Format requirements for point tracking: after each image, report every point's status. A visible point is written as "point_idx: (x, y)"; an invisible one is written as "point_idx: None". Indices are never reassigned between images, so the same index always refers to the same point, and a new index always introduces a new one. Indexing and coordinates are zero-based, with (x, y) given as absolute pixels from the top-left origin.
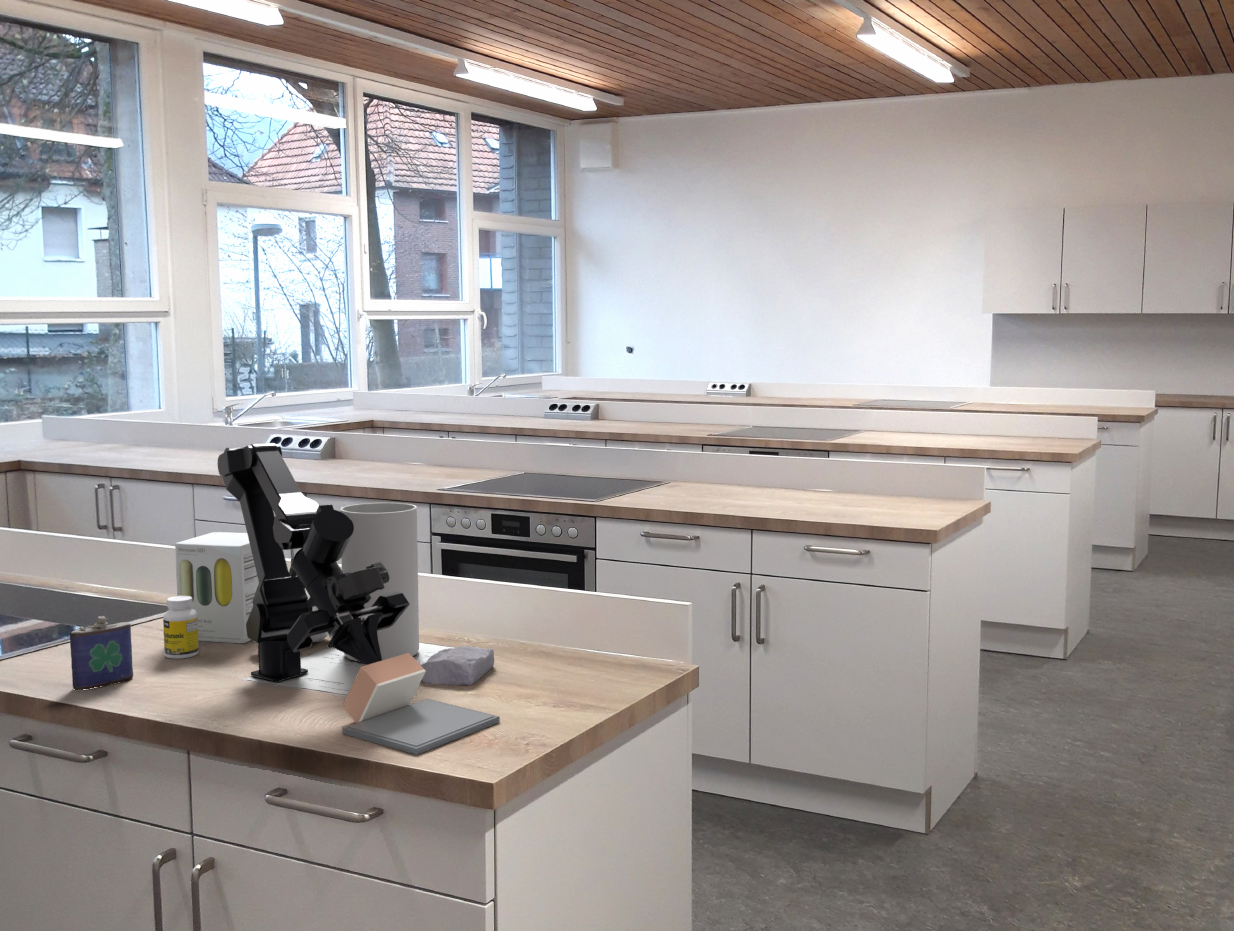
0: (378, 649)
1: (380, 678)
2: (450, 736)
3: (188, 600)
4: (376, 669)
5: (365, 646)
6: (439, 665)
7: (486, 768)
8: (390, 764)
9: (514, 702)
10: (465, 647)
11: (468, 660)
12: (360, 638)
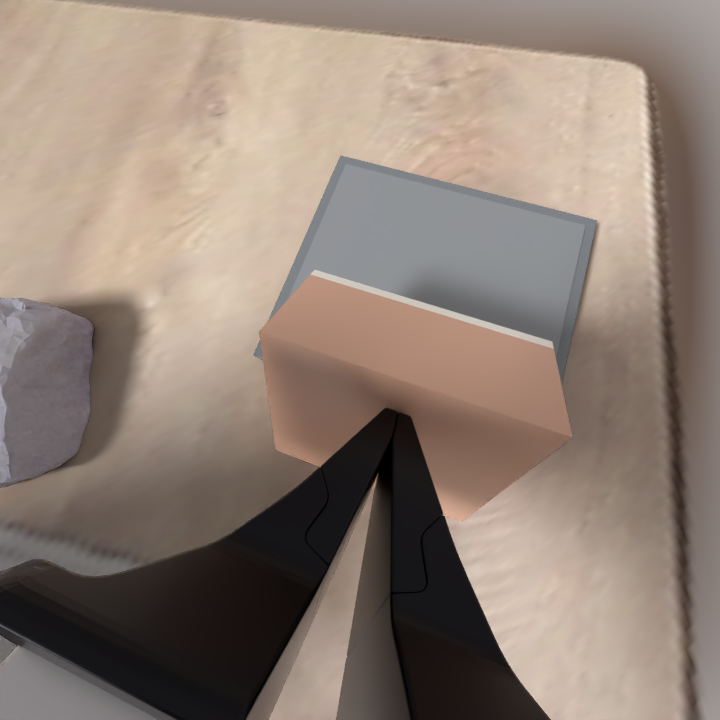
0: (357, 447)
1: (516, 351)
2: (489, 195)
3: None
4: (498, 381)
5: (436, 510)
6: (24, 403)
7: (588, 95)
8: (659, 252)
9: (209, 187)
10: None
11: (6, 312)
12: (447, 583)
